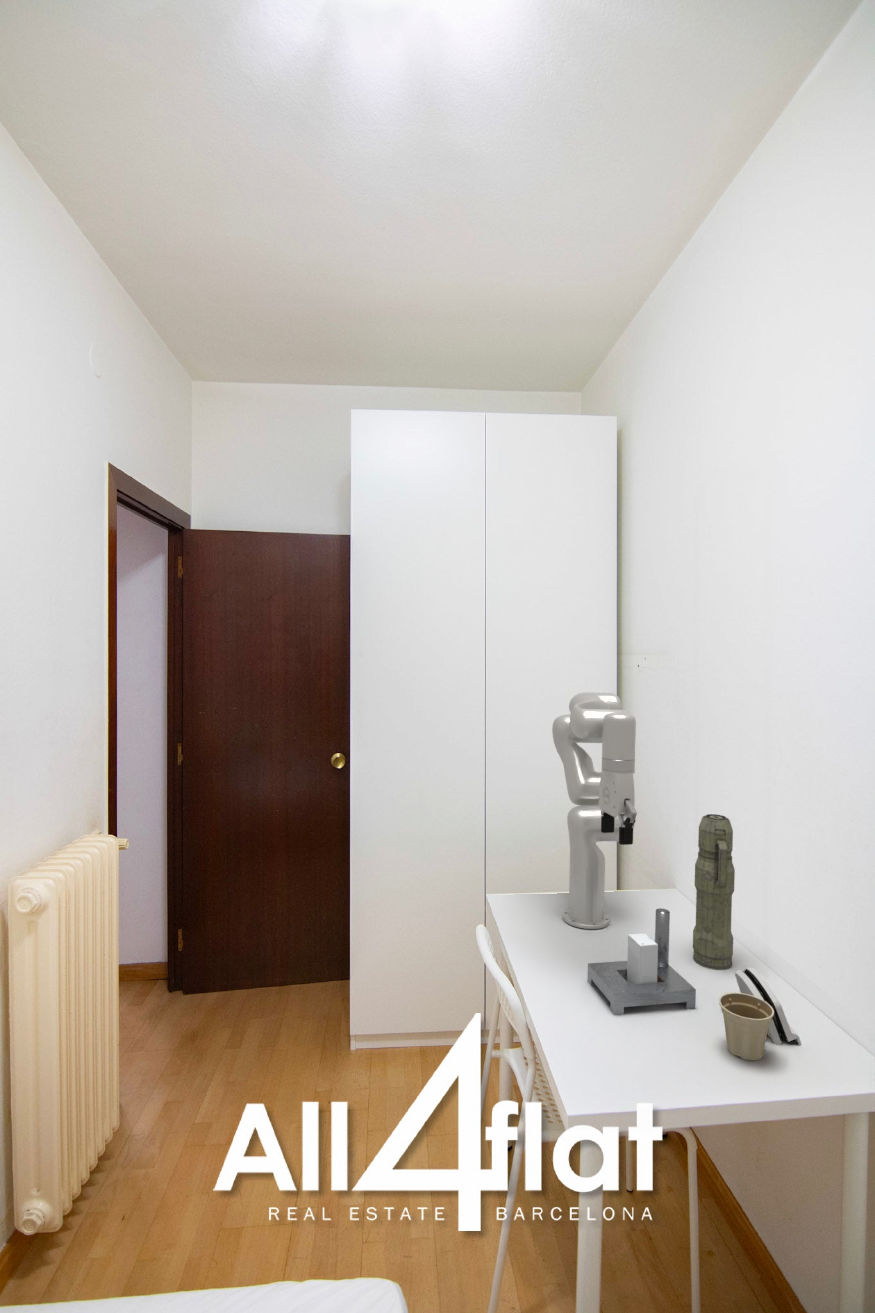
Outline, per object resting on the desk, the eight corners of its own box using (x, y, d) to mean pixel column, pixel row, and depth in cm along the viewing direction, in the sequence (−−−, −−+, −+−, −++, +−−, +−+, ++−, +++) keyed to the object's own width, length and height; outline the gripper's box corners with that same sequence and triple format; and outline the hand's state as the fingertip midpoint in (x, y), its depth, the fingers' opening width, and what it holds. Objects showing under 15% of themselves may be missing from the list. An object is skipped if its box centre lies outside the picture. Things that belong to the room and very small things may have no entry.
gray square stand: (587, 981, 150) (589, 910, 150) (661, 975, 153) (663, 906, 153) (614, 1015, 136) (616, 937, 136) (695, 1008, 140) (697, 932, 139)
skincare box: (657, 1000, 142) (658, 944, 142) (639, 1002, 142) (640, 946, 141) (643, 986, 148) (644, 932, 148) (625, 987, 148) (627, 933, 147)
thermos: (705, 973, 155) (709, 823, 154) (684, 950, 167) (687, 810, 166) (742, 973, 155) (746, 823, 155) (718, 950, 167) (722, 810, 167)
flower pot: (747, 1072, 119) (748, 1023, 119) (706, 1042, 127) (707, 997, 127) (784, 1059, 123) (785, 1013, 122) (742, 1032, 131) (743, 988, 131)
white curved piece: (802, 1046, 127) (785, 996, 127) (778, 1053, 127) (761, 1003, 127) (766, 1000, 144) (751, 955, 144) (744, 1006, 144) (729, 962, 144)
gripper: (588, 759, 165) (586, 828, 165) (619, 772, 148) (617, 849, 148) (616, 759, 166) (615, 827, 166) (650, 772, 149) (649, 848, 149)
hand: (616, 838), depth 157 cm, fingers open, 9 cm apart
